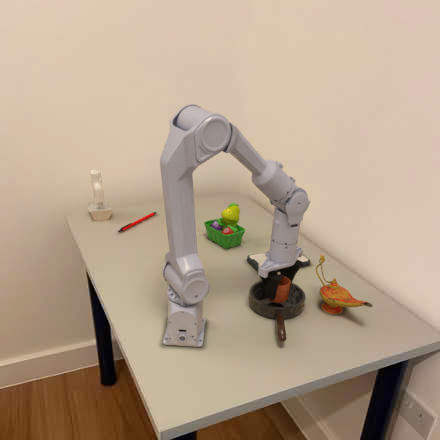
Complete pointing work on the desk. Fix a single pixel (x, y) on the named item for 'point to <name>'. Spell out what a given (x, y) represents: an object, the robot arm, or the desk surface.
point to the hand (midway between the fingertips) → (277, 292)
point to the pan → (269, 308)
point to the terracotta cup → (282, 291)
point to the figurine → (98, 199)
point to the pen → (136, 222)
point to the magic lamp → (336, 295)
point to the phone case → (259, 259)
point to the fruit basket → (226, 228)
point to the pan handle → (280, 326)
